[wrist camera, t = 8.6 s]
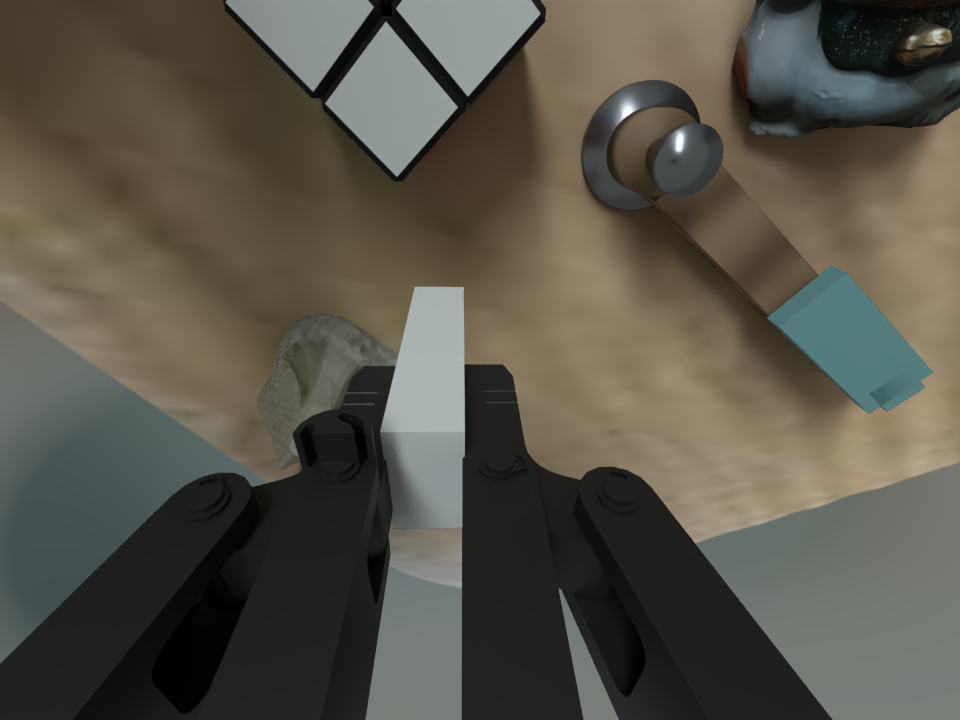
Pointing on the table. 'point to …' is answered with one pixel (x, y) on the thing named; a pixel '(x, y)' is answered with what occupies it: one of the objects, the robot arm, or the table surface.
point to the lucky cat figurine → (849, 64)
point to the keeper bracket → (851, 341)
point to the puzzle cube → (391, 62)
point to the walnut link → (712, 216)
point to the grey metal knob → (652, 146)
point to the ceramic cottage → (314, 375)
